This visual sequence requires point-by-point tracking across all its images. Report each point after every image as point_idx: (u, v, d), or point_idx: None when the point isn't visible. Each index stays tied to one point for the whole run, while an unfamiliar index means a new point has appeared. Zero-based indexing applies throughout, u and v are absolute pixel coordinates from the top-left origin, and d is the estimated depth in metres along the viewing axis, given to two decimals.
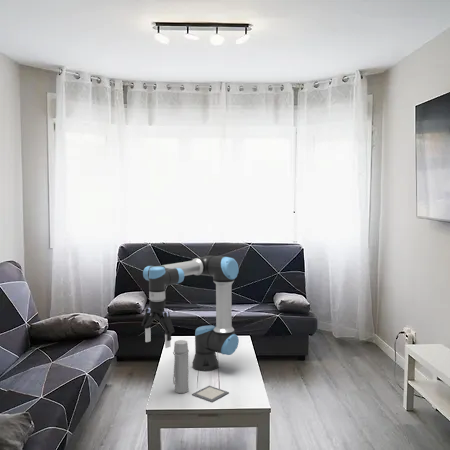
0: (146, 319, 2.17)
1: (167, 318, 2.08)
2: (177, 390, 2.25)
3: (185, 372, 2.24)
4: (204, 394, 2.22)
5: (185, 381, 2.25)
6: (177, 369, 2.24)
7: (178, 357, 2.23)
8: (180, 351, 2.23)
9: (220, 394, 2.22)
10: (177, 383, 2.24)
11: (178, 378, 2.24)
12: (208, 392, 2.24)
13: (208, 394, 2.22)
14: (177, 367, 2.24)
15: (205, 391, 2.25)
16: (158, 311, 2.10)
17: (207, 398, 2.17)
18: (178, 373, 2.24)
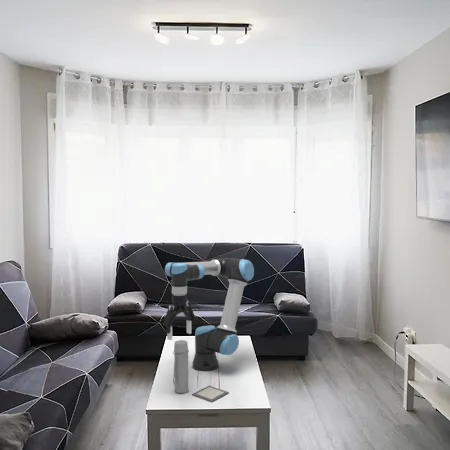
0: (189, 312, 2.31)
1: (168, 311, 2.19)
2: (177, 390, 2.25)
3: (185, 372, 2.24)
4: (204, 394, 2.22)
5: (185, 381, 2.25)
6: (177, 369, 2.24)
7: (178, 357, 2.23)
8: (180, 351, 2.23)
9: (220, 394, 2.22)
10: (177, 383, 2.24)
11: (178, 378, 2.24)
12: (208, 392, 2.24)
13: (208, 394, 2.22)
14: (177, 367, 2.24)
15: (205, 391, 2.25)
16: None
17: (207, 398, 2.17)
18: (178, 373, 2.24)
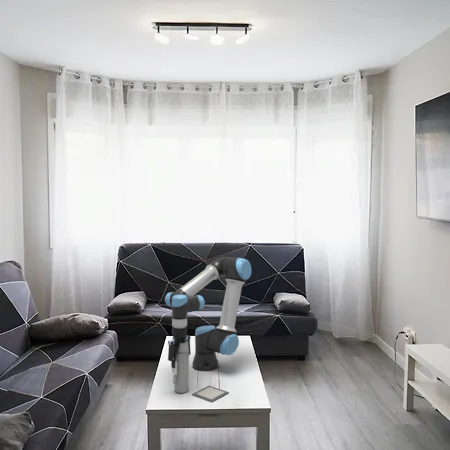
0: None
1: (169, 347, 2.21)
2: (177, 390, 2.25)
3: (185, 372, 2.25)
4: (204, 394, 2.22)
5: (185, 381, 2.25)
6: (177, 369, 2.24)
7: (179, 356, 2.24)
8: (181, 351, 2.23)
9: (220, 394, 2.22)
10: (177, 383, 2.24)
11: (178, 378, 2.24)
12: (208, 392, 2.24)
13: (208, 394, 2.22)
14: (177, 367, 2.24)
15: (205, 391, 2.25)
16: None
17: (207, 398, 2.17)
18: (178, 373, 2.24)
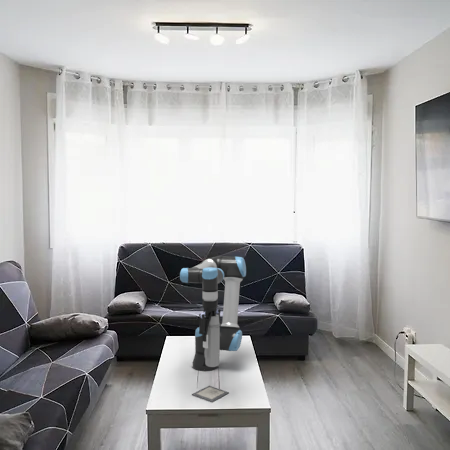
0: None
1: (200, 320, 2.17)
2: (208, 364, 2.21)
3: (216, 345, 2.21)
4: (204, 394, 2.22)
5: (216, 355, 2.21)
6: (208, 342, 2.20)
7: (210, 330, 2.20)
8: (212, 324, 2.20)
9: (220, 394, 2.22)
10: (208, 357, 2.21)
11: (209, 352, 2.20)
12: (208, 392, 2.24)
13: (208, 394, 2.22)
14: (208, 340, 2.20)
15: (205, 391, 2.25)
16: None
17: (207, 398, 2.17)
18: (209, 346, 2.20)
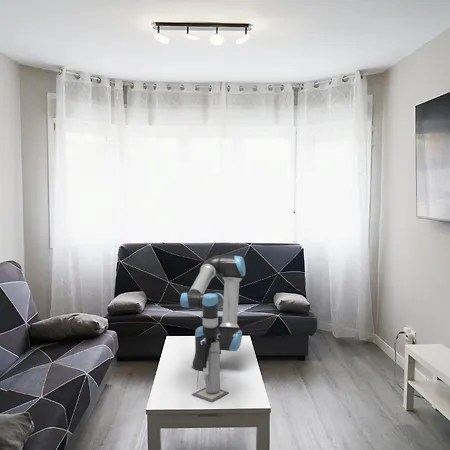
0: None
1: (201, 346, 2.18)
2: (208, 390, 2.22)
3: (217, 371, 2.22)
4: (204, 394, 2.22)
5: (217, 381, 2.22)
6: (209, 368, 2.21)
7: (210, 356, 2.21)
8: (212, 350, 2.20)
9: (220, 394, 2.22)
10: (208, 383, 2.22)
11: (210, 378, 2.21)
12: (208, 392, 2.24)
13: (208, 394, 2.22)
14: (209, 366, 2.21)
15: (205, 391, 2.25)
16: None
17: (207, 398, 2.17)
18: (210, 372, 2.21)
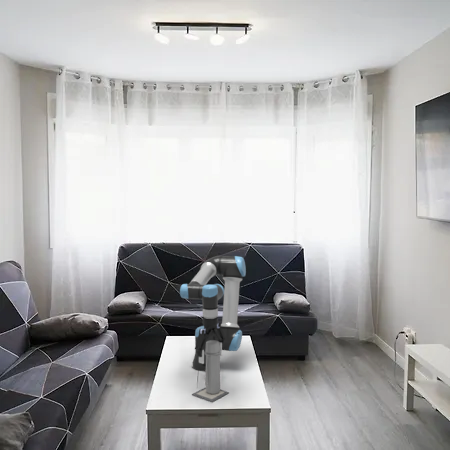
0: (219, 333, 2.28)
1: (199, 335, 2.17)
2: (209, 391, 2.22)
3: (217, 373, 2.22)
4: (204, 394, 2.22)
5: (217, 382, 2.22)
6: (209, 370, 2.21)
7: (210, 357, 2.21)
8: (212, 352, 2.20)
9: (220, 394, 2.22)
10: (209, 384, 2.22)
11: (210, 379, 2.21)
12: None
13: (208, 394, 2.22)
14: (209, 368, 2.21)
15: (205, 391, 2.25)
16: None
17: (207, 398, 2.17)
18: (210, 374, 2.21)
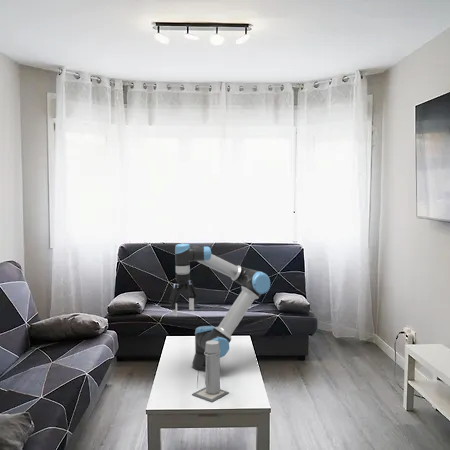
0: (191, 290, 2.45)
1: (173, 289, 2.33)
2: (209, 391, 2.22)
3: (217, 373, 2.22)
4: (204, 394, 2.22)
5: (217, 382, 2.22)
6: (209, 370, 2.21)
7: (210, 357, 2.21)
8: (212, 352, 2.20)
9: (220, 394, 2.22)
10: (209, 384, 2.22)
11: (210, 379, 2.21)
12: None
13: (208, 394, 2.22)
14: (209, 368, 2.21)
15: (205, 391, 2.25)
16: None
17: (207, 398, 2.17)
18: (210, 374, 2.21)
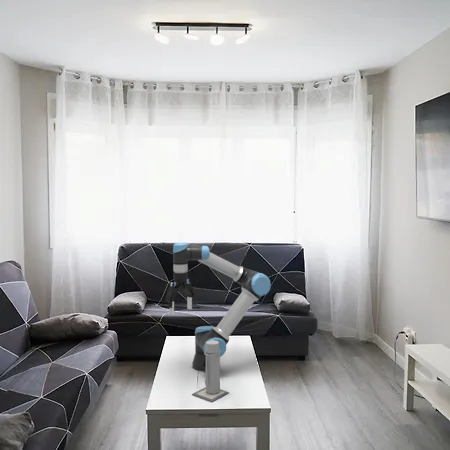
0: (189, 289, 2.47)
1: (170, 288, 2.35)
2: (209, 391, 2.22)
3: (217, 373, 2.22)
4: (204, 394, 2.22)
5: (217, 382, 2.22)
6: (209, 370, 2.21)
7: (210, 357, 2.21)
8: (212, 352, 2.20)
9: (220, 394, 2.22)
10: (209, 384, 2.22)
11: (210, 379, 2.21)
12: None
13: (208, 394, 2.22)
14: (209, 368, 2.21)
15: (205, 391, 2.25)
16: None
17: (207, 398, 2.17)
18: (210, 374, 2.21)
